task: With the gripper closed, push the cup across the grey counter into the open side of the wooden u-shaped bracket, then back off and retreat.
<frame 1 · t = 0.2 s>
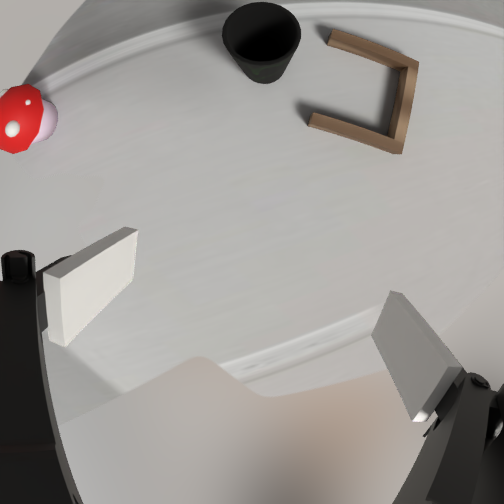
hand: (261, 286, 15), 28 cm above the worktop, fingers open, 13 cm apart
mushroom: (45, 120, 39), on the worktop
wooden u-shaped bracket: (357, 91, 36), on the worktop
cup: (264, 65, 36), on the worktop
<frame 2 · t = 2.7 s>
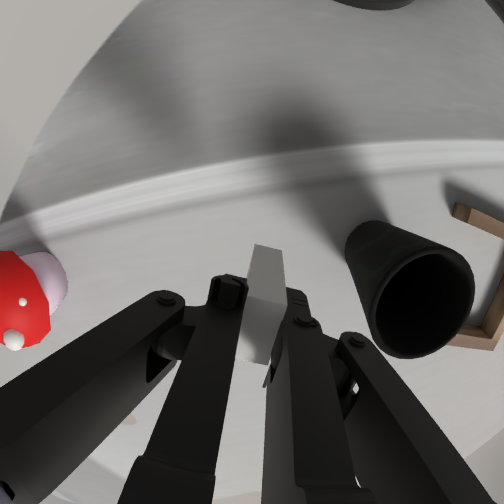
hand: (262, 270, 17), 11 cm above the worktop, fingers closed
mushroom: (49, 274, 31), on the worktop
wooden u-shaped bracket: (469, 278, 28), on the worktop
cup: (372, 248, 28), on the worktop
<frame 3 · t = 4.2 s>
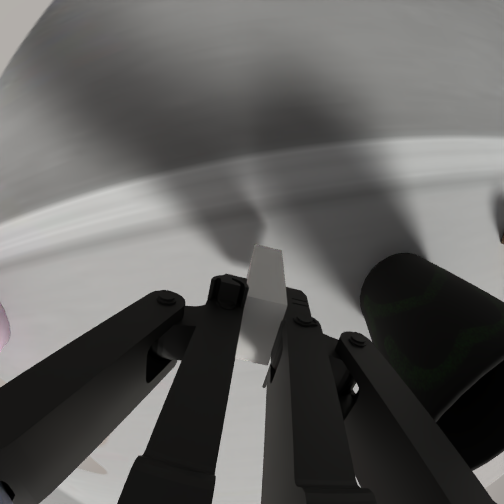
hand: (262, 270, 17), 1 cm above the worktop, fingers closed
cup: (398, 292, 19), on the worktop
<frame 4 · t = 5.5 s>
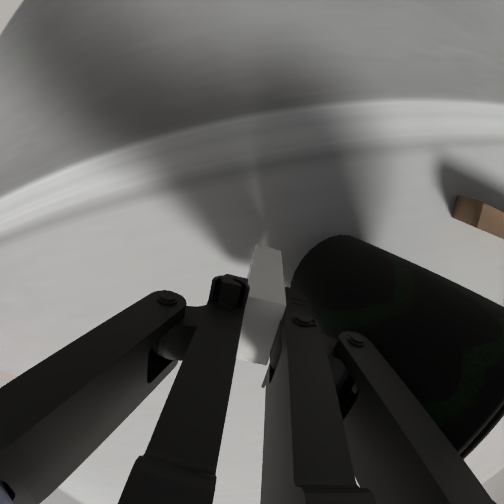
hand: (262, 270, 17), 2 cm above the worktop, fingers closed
wooden u-shaped bracket: (477, 305, 19), on the worktop
cup: (330, 279, 18), point 1 cm above the worktop, touching gripper, hand
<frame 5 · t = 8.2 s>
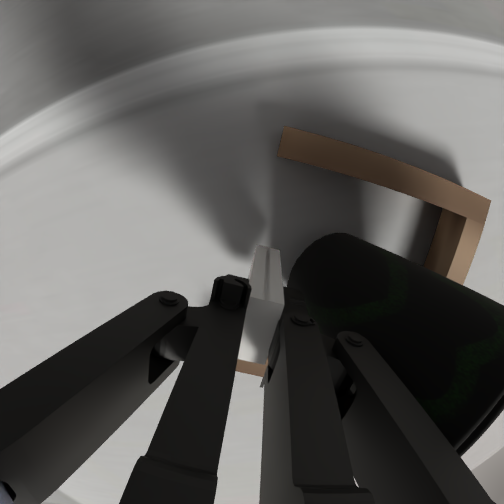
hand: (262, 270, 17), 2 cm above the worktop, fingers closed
wooden u-shaped bracket: (342, 268, 19), on the worktop
cup: (327, 276, 18), point 1 cm above the worktop, touching gripper, hand
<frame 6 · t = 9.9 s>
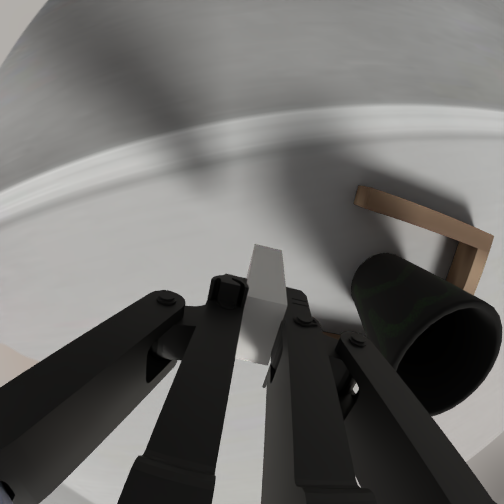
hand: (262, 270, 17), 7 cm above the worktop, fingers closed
wooden u-shaped bracket: (391, 284, 24), on the worktop
cup: (381, 284, 25), on the worktop
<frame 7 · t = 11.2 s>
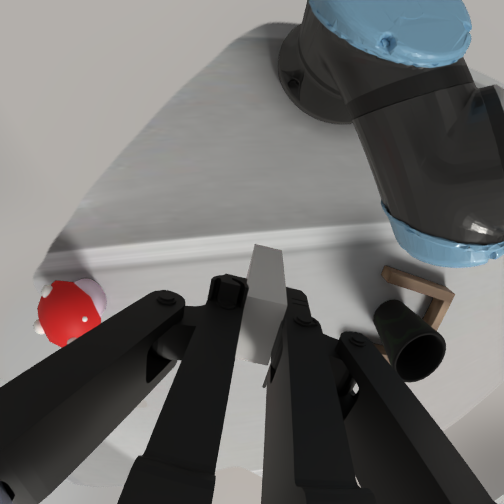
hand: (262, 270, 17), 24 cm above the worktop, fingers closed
mushroom: (91, 295, 45), on the worktop
wooden u-shaped bracket: (395, 315, 44), on the worktop
cup: (389, 315, 44), on the worktop
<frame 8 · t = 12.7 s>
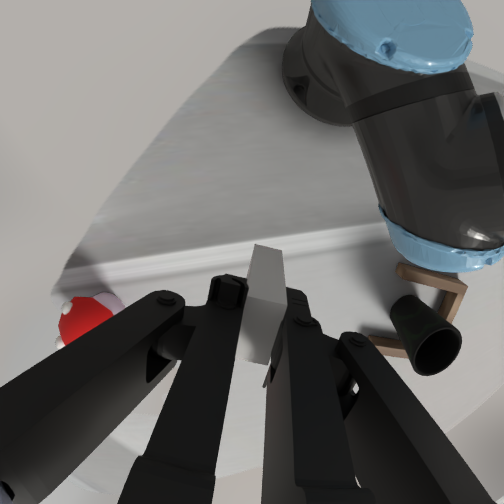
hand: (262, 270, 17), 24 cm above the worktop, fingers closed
mushroom: (110, 308, 47), on the worktop
wooden u-shaped bracket: (410, 310, 44), on the worktop
cup: (405, 310, 44), on the worktop
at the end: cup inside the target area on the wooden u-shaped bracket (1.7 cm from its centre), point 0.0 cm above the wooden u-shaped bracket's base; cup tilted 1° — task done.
